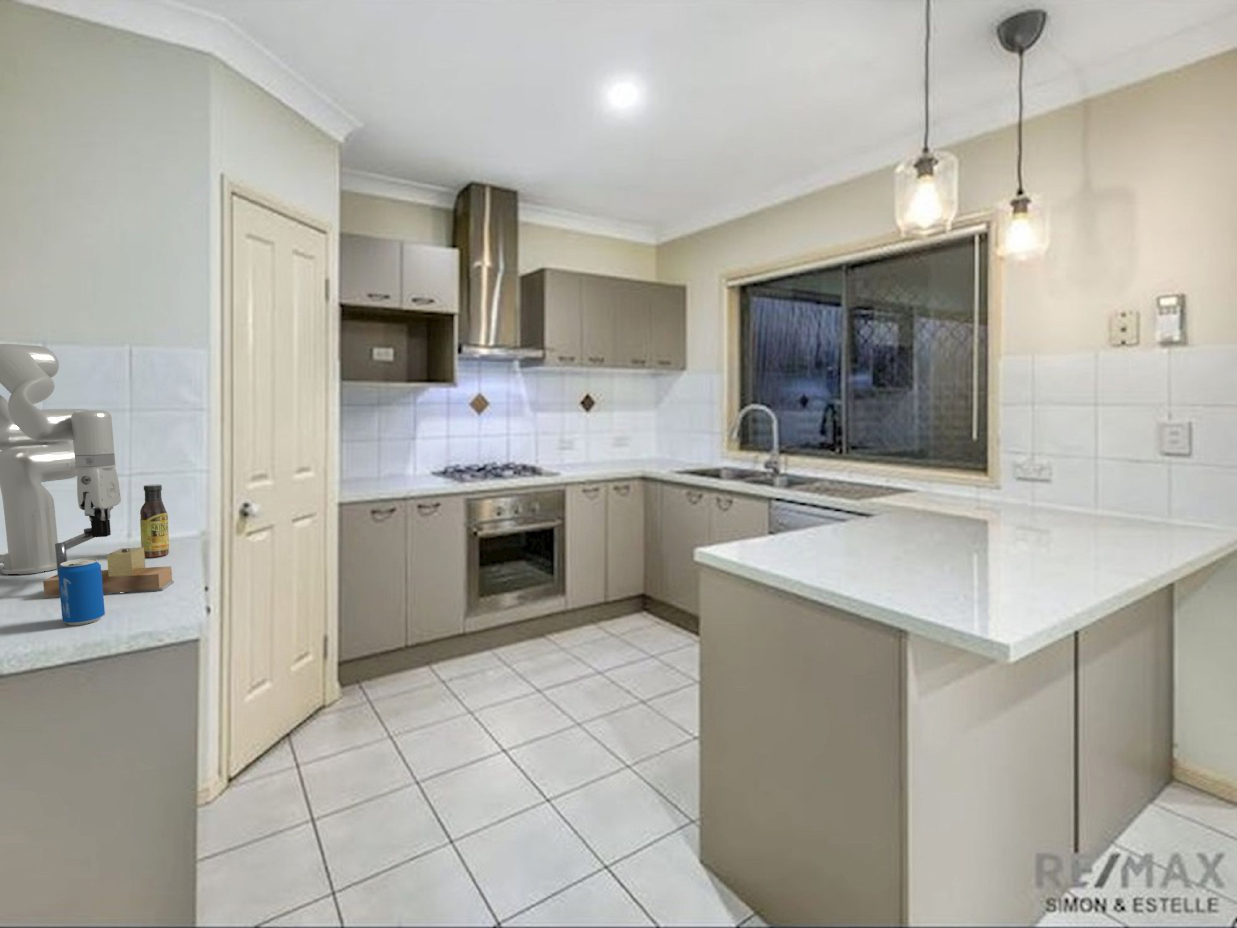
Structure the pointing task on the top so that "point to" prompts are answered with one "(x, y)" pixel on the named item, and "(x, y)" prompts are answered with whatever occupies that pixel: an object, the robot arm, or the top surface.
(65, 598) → the beverage can
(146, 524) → the sauce bottle
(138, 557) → the tan knob block
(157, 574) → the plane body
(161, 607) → the top surface
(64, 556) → the lever
